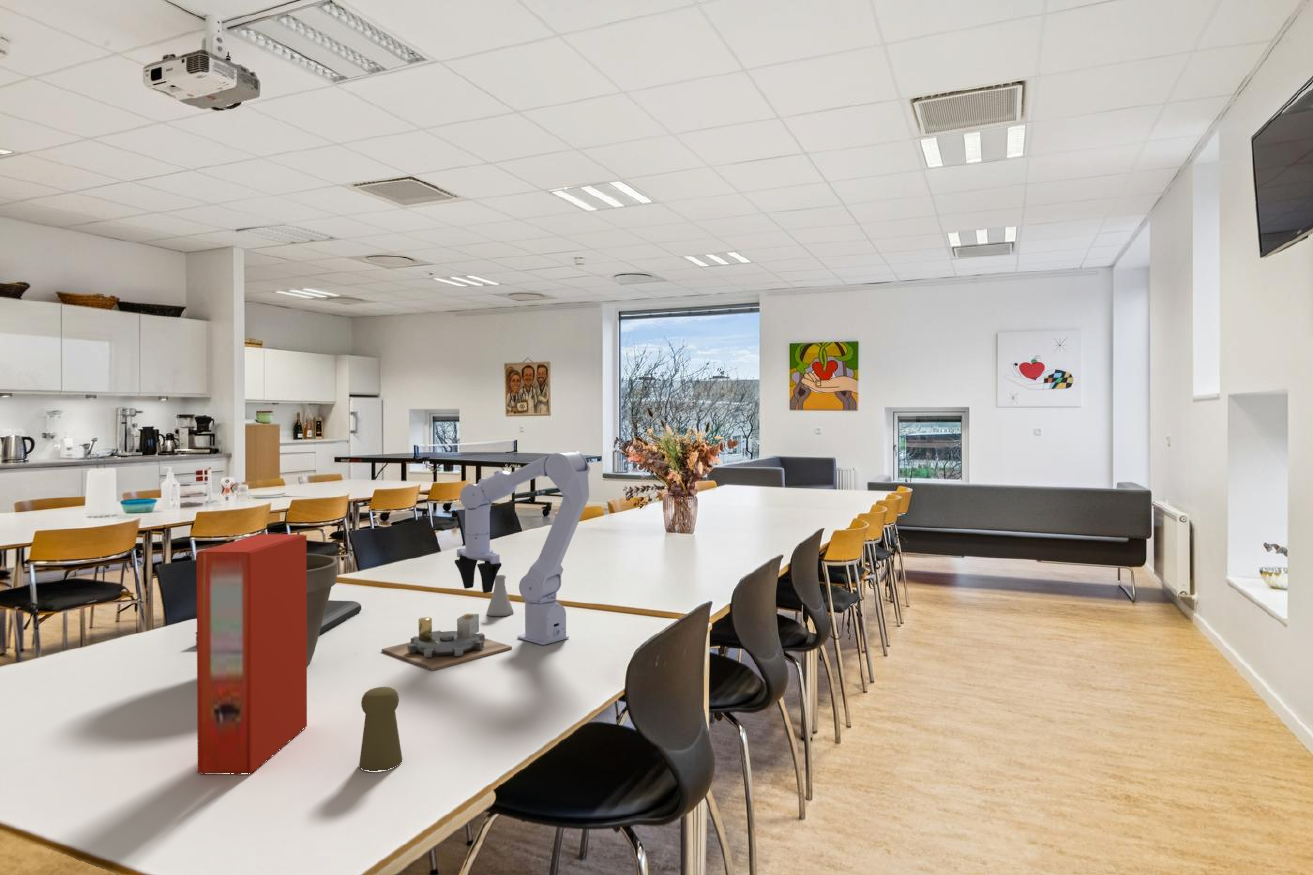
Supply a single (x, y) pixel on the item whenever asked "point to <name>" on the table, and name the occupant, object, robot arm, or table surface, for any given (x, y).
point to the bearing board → (444, 661)
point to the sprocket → (442, 641)
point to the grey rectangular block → (467, 625)
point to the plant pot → (318, 595)
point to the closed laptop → (336, 614)
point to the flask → (499, 599)
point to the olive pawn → (380, 730)
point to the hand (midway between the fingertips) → (478, 590)
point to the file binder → (250, 650)
